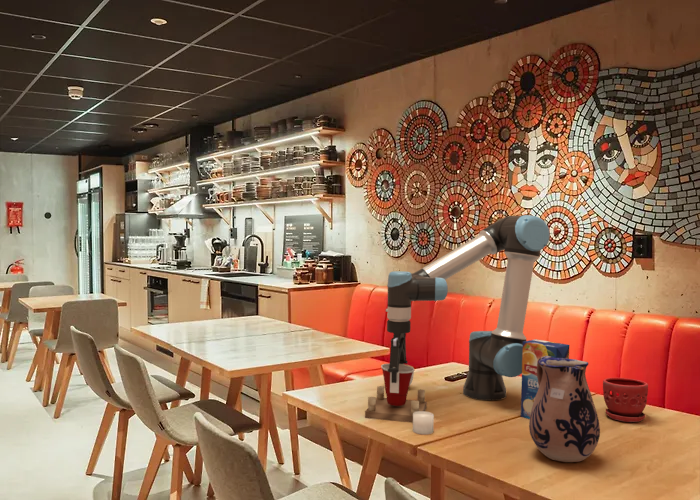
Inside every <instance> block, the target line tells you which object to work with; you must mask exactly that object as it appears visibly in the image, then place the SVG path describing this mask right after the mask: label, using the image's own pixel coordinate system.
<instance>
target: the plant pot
mask: <svg viewBox="0 0 700 500" xmlns="http://www.w3.org/2000/svg"><path fill="white" fill-rule="evenodd" d="M602 390H603V391H602V393H603V394H602V395H603V400H604V403H605V405H606V407H607V408H606V409H605V414H606V415H607V417H609V418H610V419H611V420H615V421H619V422H624V423H639V422H641V421H643V420H645V418H646V413H644V410H645V408H646V406H647V401H648V393H649V384H648V383H647V382H646V381H644V380H640V379H634V378H625V377H607V378H604V379H603V380H602ZM617 394H618V395H617Z"/></svg>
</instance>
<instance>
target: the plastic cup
mask: <svg viewBox="0 0 700 500" xmlns="http://www.w3.org/2000/svg"><path fill="white" fill-rule="evenodd" d="M389 364H390V363H383V364H381V365H380V366H381V370H382V374H383V382H384V392H385V394H386V398H387V402H388V404H389V405H394V406H401V405H404V404H405V402H406V400H407V397H408V394H409V388H410V386H409V384H410V379H411V376H412V373H413V372H414V373H415V368H412V367H413V366H412V367H410V366H411V365H410V366H407V365H408V364H405V365H402V364H399V393H390V372H388V369H389ZM393 368H395V367H393Z"/></svg>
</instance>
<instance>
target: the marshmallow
mask: <svg viewBox="0 0 700 500" xmlns="http://www.w3.org/2000/svg"><path fill="white" fill-rule="evenodd" d="M434 416H435V415H434V413H433V412H430V411H426V410H425V411H418V412H414V413H413V422H412V432H413V433H414V434H417V435H431V434H433V433H434V425H435V424H434V423H435V421H434V419H435V417H434Z"/></svg>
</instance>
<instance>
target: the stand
mask: <svg viewBox="0 0 700 500" xmlns="http://www.w3.org/2000/svg"><path fill="white" fill-rule="evenodd" d="M425 398H426V390H425V389H421V388H420V389H417V398H416V400H415V399H406V402H405V404H404V405H401V406H394V405H389V404H388V402H387V397H385V386H382V385H378V386H377V387H376V396H367V409H366V410H365V411H364V418H365V419H374V420H375V419H376V420H386V421H396V422H407V423H413V413H414V412H418V411H426V410H427V407H428V406H427V405H428V401H427V400H426V399H425Z"/></svg>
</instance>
